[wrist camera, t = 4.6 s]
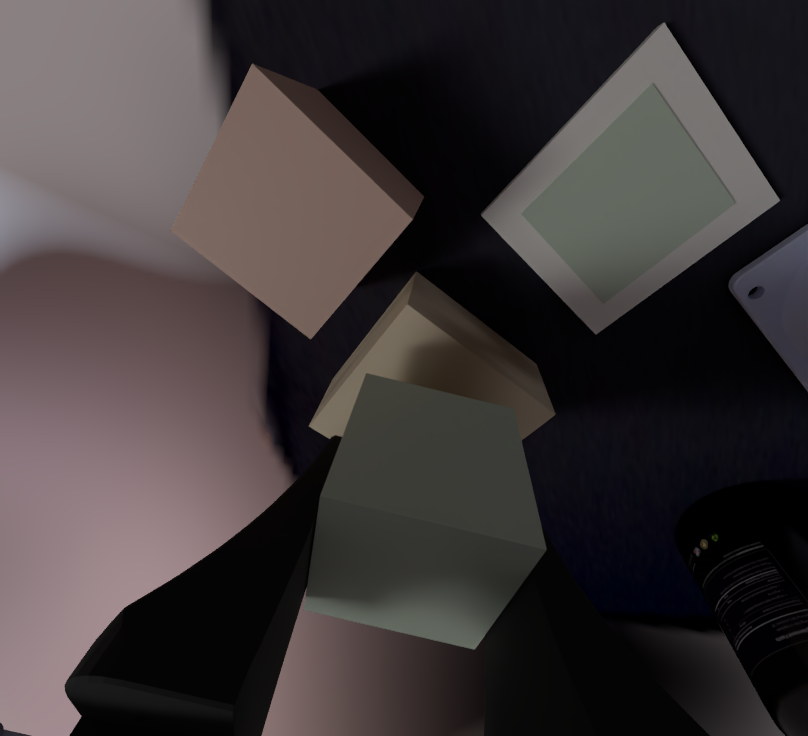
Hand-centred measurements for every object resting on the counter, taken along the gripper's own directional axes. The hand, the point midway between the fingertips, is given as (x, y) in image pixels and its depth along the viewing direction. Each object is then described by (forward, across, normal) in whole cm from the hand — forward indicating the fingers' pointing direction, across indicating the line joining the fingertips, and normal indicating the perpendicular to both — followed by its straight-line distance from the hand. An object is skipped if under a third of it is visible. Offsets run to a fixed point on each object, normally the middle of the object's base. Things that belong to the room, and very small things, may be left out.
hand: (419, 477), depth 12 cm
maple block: (+7, 0, 0) cm, 7 cm away
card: (+7, -5, -9) cm, 12 cm away
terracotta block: (+7, +6, -6) cm, 11 cm away
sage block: (+2, 0, 0) cm, 2 cm away
